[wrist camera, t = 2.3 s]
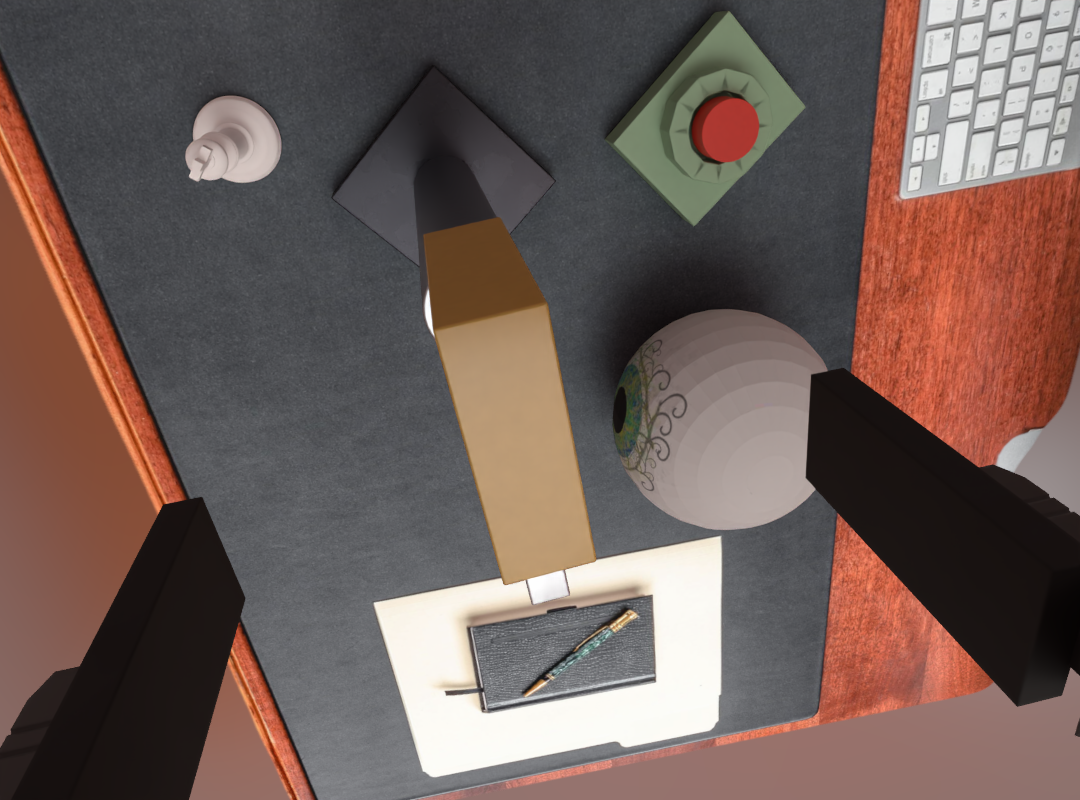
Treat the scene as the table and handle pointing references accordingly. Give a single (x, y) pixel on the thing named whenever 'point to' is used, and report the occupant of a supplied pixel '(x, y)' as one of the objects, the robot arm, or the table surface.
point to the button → (725, 128)
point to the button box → (673, 101)
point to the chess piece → (233, 141)
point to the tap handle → (509, 404)
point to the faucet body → (439, 173)
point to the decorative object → (718, 418)
